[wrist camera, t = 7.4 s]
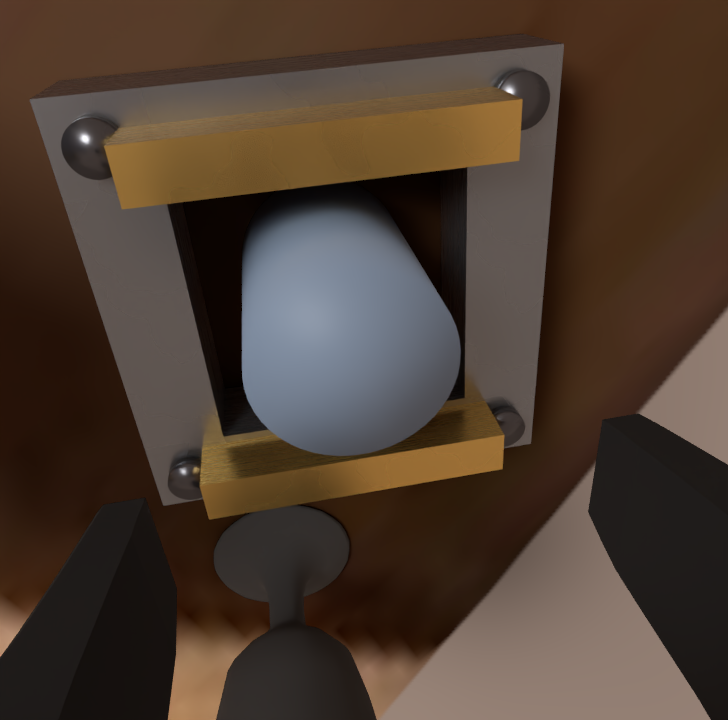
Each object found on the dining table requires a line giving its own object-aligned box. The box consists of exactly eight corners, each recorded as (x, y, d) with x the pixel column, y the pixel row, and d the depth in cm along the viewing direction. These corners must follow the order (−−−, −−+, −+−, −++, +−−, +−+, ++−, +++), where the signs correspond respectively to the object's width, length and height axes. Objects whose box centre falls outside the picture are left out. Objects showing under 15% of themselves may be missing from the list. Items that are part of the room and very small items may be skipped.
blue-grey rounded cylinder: (226, 191, 17) (218, 289, 12) (392, 165, 17) (457, 248, 12) (259, 338, 19) (265, 472, 14) (405, 312, 19) (463, 434, 14)
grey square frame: (58, 81, 15) (5, 115, 11) (522, 33, 16) (598, 52, 12) (170, 452, 20) (157, 548, 17) (503, 398, 22) (552, 478, 18)
